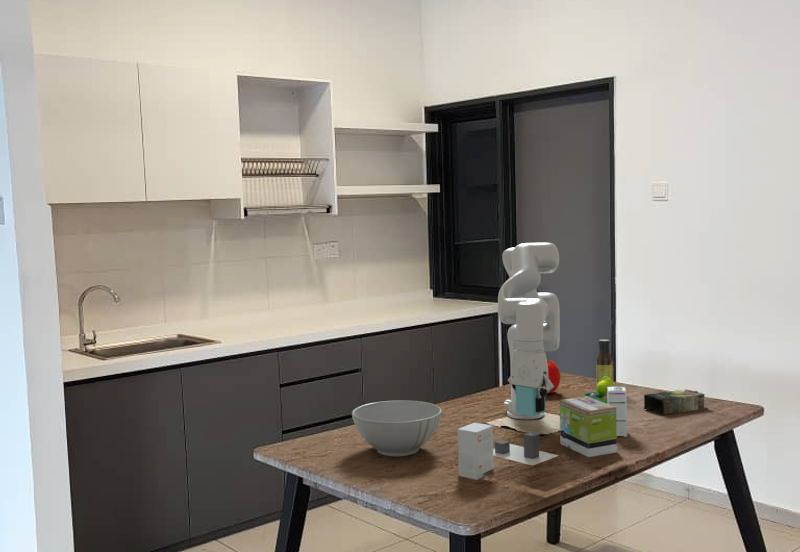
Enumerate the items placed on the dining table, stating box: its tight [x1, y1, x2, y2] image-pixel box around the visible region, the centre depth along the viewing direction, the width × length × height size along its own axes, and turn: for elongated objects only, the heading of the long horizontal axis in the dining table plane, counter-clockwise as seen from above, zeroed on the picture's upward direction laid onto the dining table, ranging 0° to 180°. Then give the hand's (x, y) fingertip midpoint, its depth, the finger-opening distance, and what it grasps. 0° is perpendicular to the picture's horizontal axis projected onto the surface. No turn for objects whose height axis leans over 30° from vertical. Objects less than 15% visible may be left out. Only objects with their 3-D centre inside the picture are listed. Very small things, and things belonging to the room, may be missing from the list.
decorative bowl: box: [351, 399, 443, 457], centre depth 250 cm, size 27×27×12 cm
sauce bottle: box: [595, 339, 615, 392], centre depth 318 cm, size 6×6×20 cm
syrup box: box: [607, 386, 628, 438], centre depth 261 cm, size 6×6×14 cm
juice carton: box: [643, 388, 706, 415], centre depth 290 cm, size 20×10×6 cm, turn 115°
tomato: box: [545, 359, 561, 394], centre depth 319 cm, size 12×12×13 cm
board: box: [493, 439, 560, 466], centre depth 240 cm, size 18×12×4 cm, turn 43°
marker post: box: [523, 431, 540, 459], centre depth 237 cm, size 3×3×6 cm
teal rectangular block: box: [516, 385, 546, 416], centre depth 235 cm, size 6×6×8 cm
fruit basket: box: [582, 376, 612, 404], centre depth 292 cm, size 11×9×11 cm
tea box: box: [559, 396, 618, 458], centre depth 243 cm, size 15×10×15 cm, turn 22°
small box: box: [456, 422, 495, 481], centre depth 226 cm, size 8×6×13 cm
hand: (530, 408), depth 236 cm, fingers closed on teal rectangular block, 5 cm apart
